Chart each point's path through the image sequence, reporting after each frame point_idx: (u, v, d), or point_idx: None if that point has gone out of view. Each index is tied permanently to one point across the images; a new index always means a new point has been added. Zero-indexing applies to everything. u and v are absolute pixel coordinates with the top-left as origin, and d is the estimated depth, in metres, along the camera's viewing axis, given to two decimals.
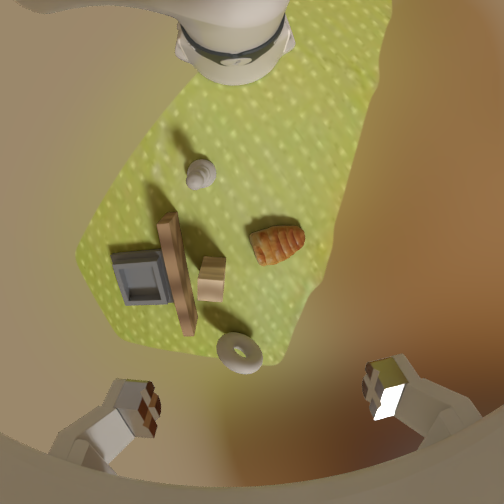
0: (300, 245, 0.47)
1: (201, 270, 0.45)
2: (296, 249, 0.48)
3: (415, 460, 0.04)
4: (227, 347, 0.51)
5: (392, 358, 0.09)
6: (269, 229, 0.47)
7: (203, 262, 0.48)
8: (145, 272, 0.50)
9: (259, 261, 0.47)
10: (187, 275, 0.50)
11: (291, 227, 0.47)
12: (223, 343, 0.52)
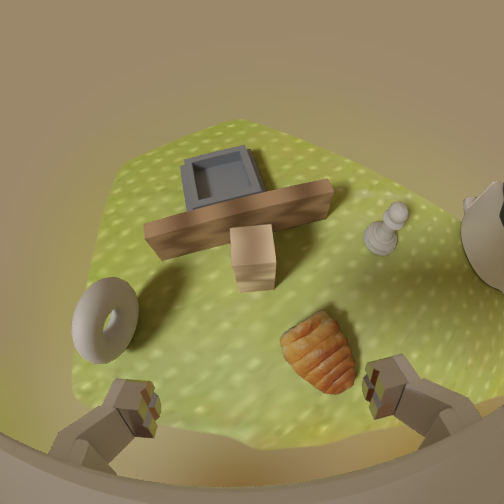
0: (331, 388, 0.26)
1: None
2: (324, 384, 0.26)
3: (415, 460, 0.04)
4: (123, 294, 0.26)
5: (392, 358, 0.09)
6: None
7: None
8: (233, 185, 0.38)
9: (296, 329, 0.27)
10: None
11: None
12: (129, 288, 0.28)
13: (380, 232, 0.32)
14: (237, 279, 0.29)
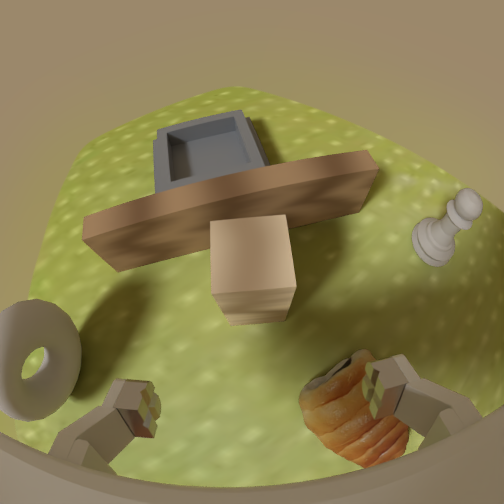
0: (376, 462, 0.13)
1: None
2: (366, 459, 0.14)
3: (415, 460, 0.04)
4: (45, 327, 0.14)
5: (391, 358, 0.09)
6: None
7: None
8: (224, 163, 0.26)
9: (327, 386, 0.15)
10: None
11: None
12: (57, 318, 0.15)
13: (438, 232, 0.20)
14: (224, 311, 0.16)
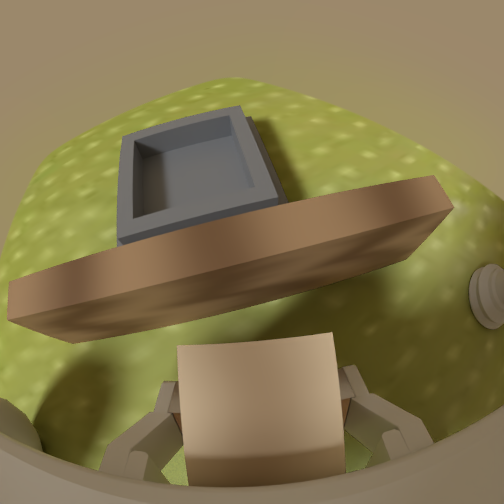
0: None
1: None
2: None
3: (415, 460, 0.04)
4: None
5: (341, 369, 0.09)
6: None
7: None
8: (215, 184, 0.18)
9: None
10: (222, 308, 0.14)
11: None
12: None
13: None
14: None
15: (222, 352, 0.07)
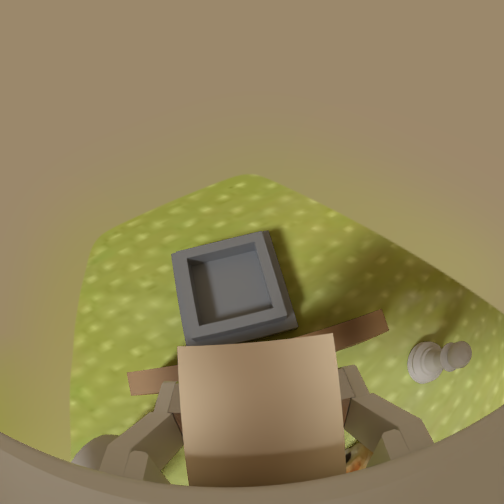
0: None
1: None
2: None
3: (415, 460, 0.04)
4: None
5: (342, 369, 0.09)
6: None
7: None
8: (246, 294, 0.28)
9: None
10: None
11: None
12: None
13: (430, 364, 0.22)
14: None
15: (222, 353, 0.07)
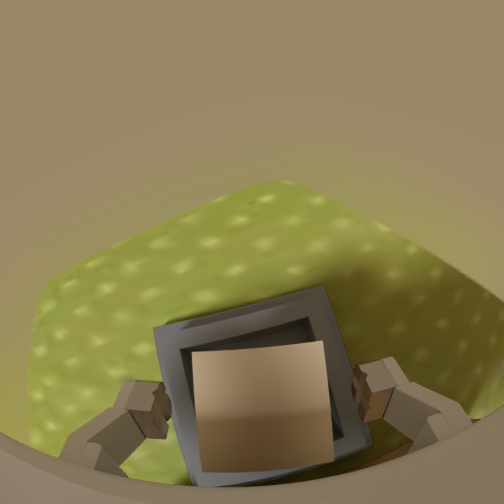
0: None
1: None
2: None
3: (415, 460, 0.04)
4: None
5: (381, 361, 0.09)
6: None
7: None
8: None
9: None
10: None
11: None
12: None
13: None
14: None
15: (230, 357, 0.08)
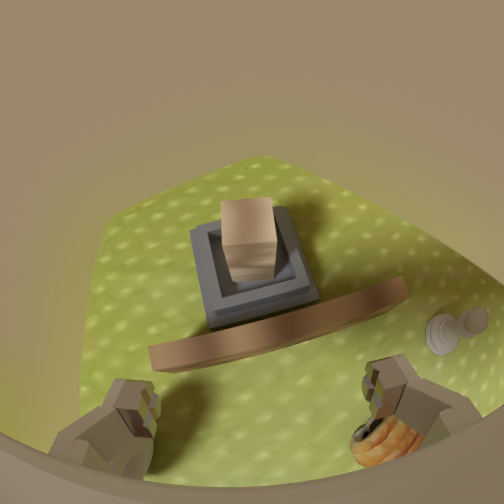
0: None
1: None
2: None
3: (415, 460, 0.04)
4: (135, 446, 0.16)
5: (392, 358, 0.09)
6: None
7: None
8: None
9: (371, 438, 0.19)
10: (278, 348, 0.25)
11: None
12: None
13: (448, 334, 0.22)
14: (229, 264, 0.24)
15: (235, 202, 0.22)
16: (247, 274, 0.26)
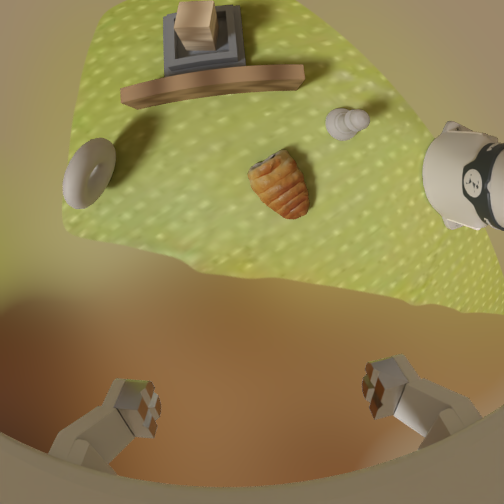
0: (289, 215, 0.37)
1: (215, 12, 0.24)
2: (283, 211, 0.37)
3: (415, 460, 0.04)
4: (102, 154, 0.29)
5: (392, 358, 0.09)
6: (300, 171, 0.36)
7: (217, 21, 0.27)
8: None
9: (260, 168, 0.34)
10: (208, 94, 0.32)
11: None
12: (107, 146, 0.30)
13: (340, 122, 0.32)
14: (181, 38, 0.26)
15: (189, 2, 0.21)
16: (195, 45, 0.28)
